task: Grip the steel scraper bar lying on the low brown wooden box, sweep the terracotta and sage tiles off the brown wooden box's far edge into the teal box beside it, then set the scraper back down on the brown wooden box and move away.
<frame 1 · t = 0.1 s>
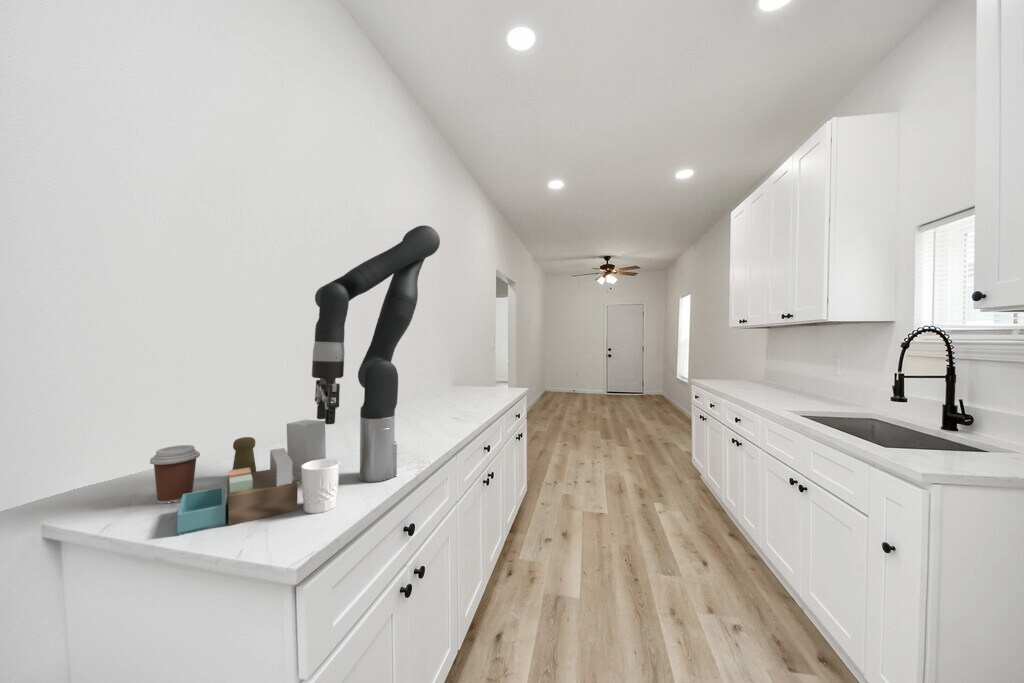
hand: (325, 421, 99), 17 cm above the worktop, tool pointing down, fingers open, 8 cm apart
white cup: (320, 508, 88), on the worktop
teal box: (203, 518, 82), on the worktop
skincare box: (306, 477, 108), on the worktop
terracotta tile: (239, 479, 88), point 6 cm above the worktop, touching brown wooden box
brown wooden box: (261, 505, 88), on the worktop
olive pepper mill: (244, 477, 107), on the worktop
sage tile: (240, 487, 83), point 6 cm above the worktop, touching brown wooden box
steel scraper bar: (280, 476, 90), point 6 cm above the worktop, touching brown wooden box
coffee cup: (175, 499, 92), on the worktop
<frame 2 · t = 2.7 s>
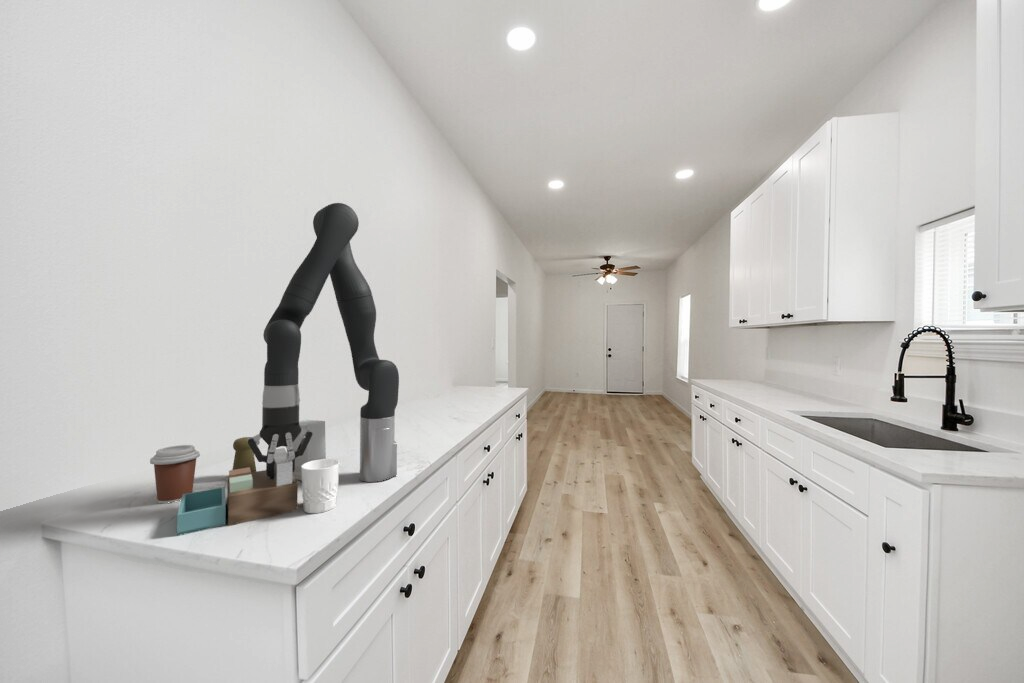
hand: (280, 475, 90), 6 cm above the worktop, tool pointing down, fingers closed on steel scraper bar, 3 cm apart
steel scraper bar: (280, 476, 90), point 6 cm above the worktop, touching gripper, brown wooden box
everything else where it was.
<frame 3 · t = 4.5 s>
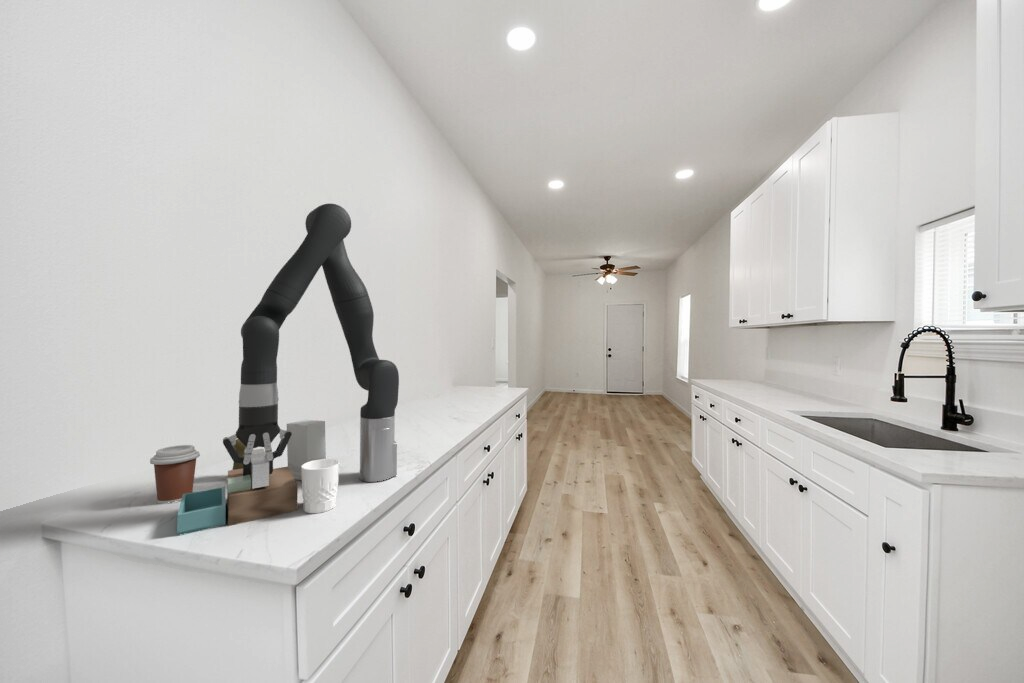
hand: (257, 477, 88), 7 cm above the worktop, tool pointing down, fingers closed on steel scraper bar, 3 cm apart
steel scraper bar: (258, 478, 88), point 7 cm above the worktop, touching gripper
everything else where it was.
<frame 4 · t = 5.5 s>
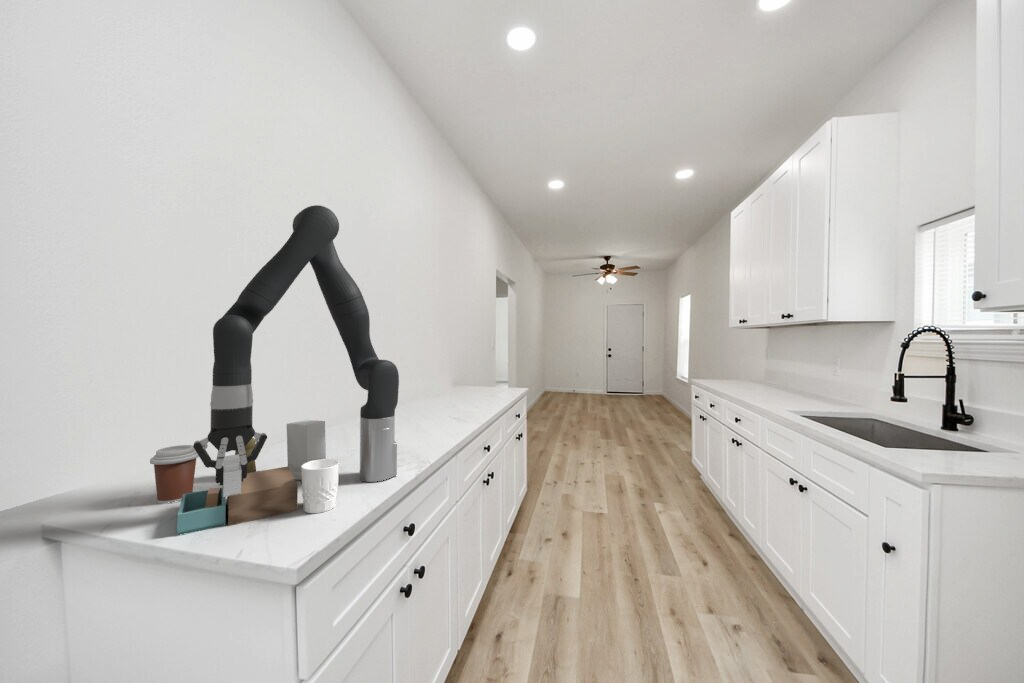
hand: (231, 482, 85), 7 cm above the worktop, tool pointing down, fingers closed on steel scraper bar, 3 cm apart
terracotta tile: (218, 499, 86), point 2 cm above the worktop, tilted 85°, touching teal box
sage tile: (196, 512, 78), point 3 cm above the worktop, tilted 178°, touching teal box
steel scraper bar: (231, 485, 85), point 6 cm above the worktop, touching gripper, brown wooden box
everything else where it was.
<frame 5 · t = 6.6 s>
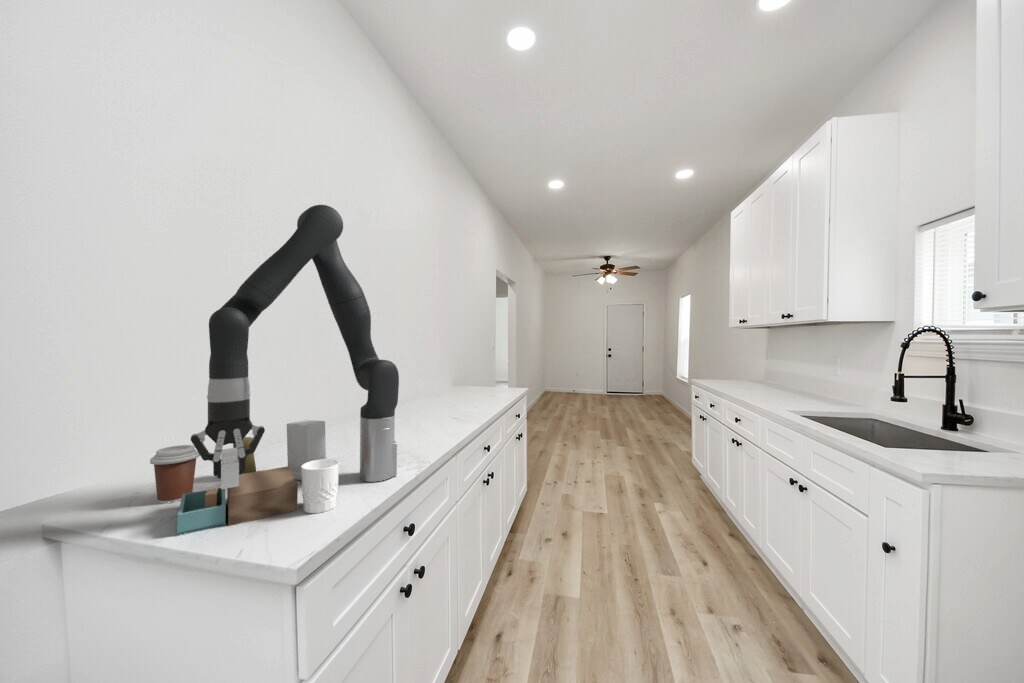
hand: (229, 475, 85), 8 cm above the worktop, tool pointing down, fingers closed on steel scraper bar, 3 cm apart
steel scraper bar: (229, 478, 85), point 8 cm above the worktop, touching gripper
everything else where it was.
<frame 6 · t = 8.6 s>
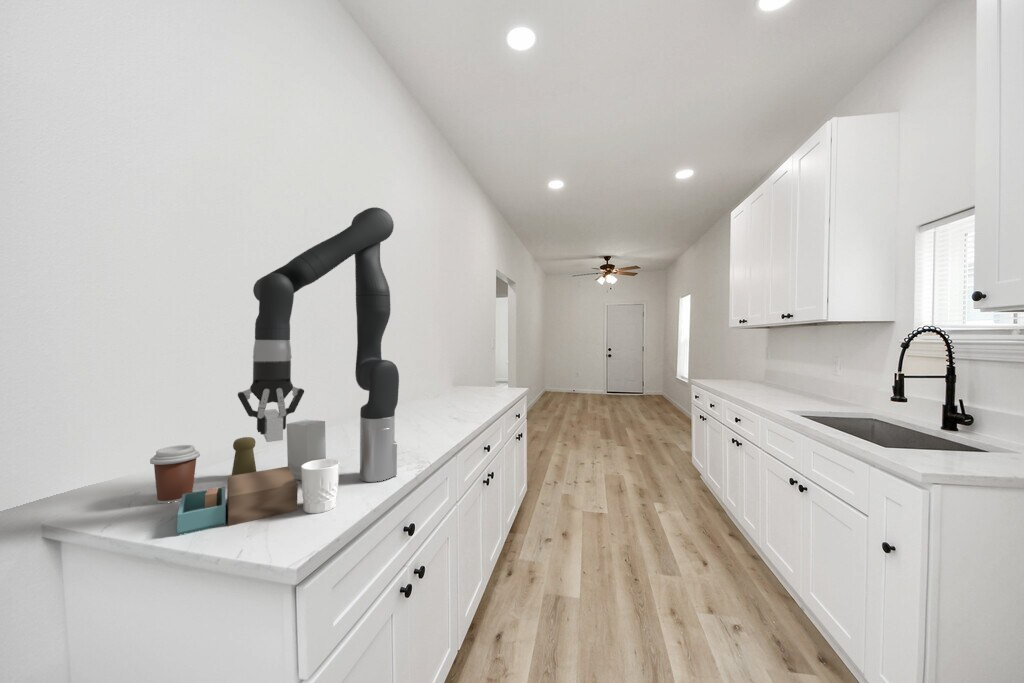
hand: (271, 432, 89), 17 cm above the worktop, tool pointing down, fingers closed on steel scraper bar, 3 cm apart
steel scraper bar: (271, 435, 89), point 16 cm above the worktop, touching gripper
everything else where it was.
when the fingers open (8 cm above the worktop, at t = 10.4 s): steel scraper bar stays where it is, resting on brown wooden box.
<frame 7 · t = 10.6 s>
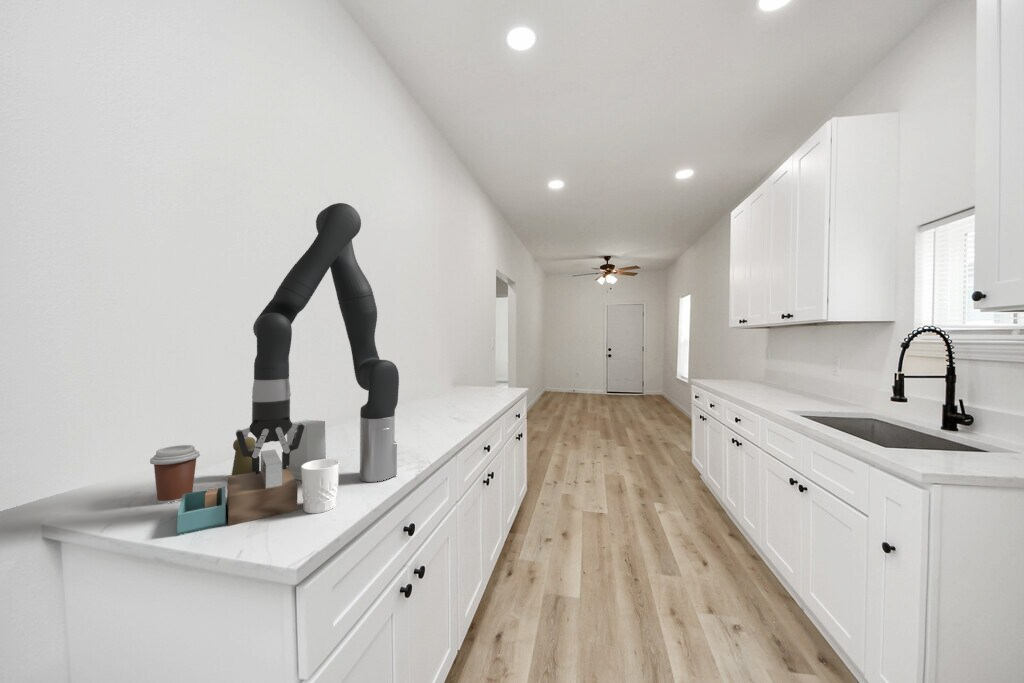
hand: (270, 470, 89), 8 cm above the worktop, tool pointing down, fingers open, 4 cm apart
steel scraper bar: (270, 478, 89), point 6 cm above the worktop, touching brown wooden box
everything else where it was.
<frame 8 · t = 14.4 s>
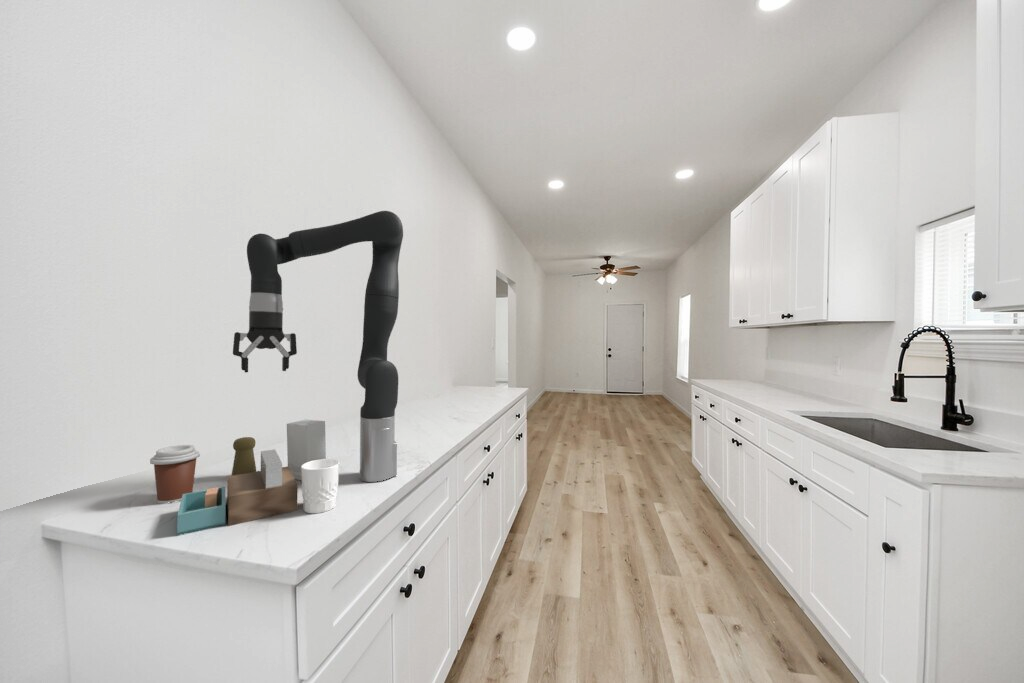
hand: (265, 371, 102), 30 cm above the worktop, tool pointing down, fingers open, 8 cm apart
nothing on the worktop moved.
at the end: terracotta tile inside the target area (3.9 cm from its centre), point 2.5 cm above the worktop; sage tile inside the target area (3.4 cm from its centre), point 2.5 cm above the worktop; steel scraper bar inside the target area (1.5 cm from its centre), point 6.0 cm above the worktop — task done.
